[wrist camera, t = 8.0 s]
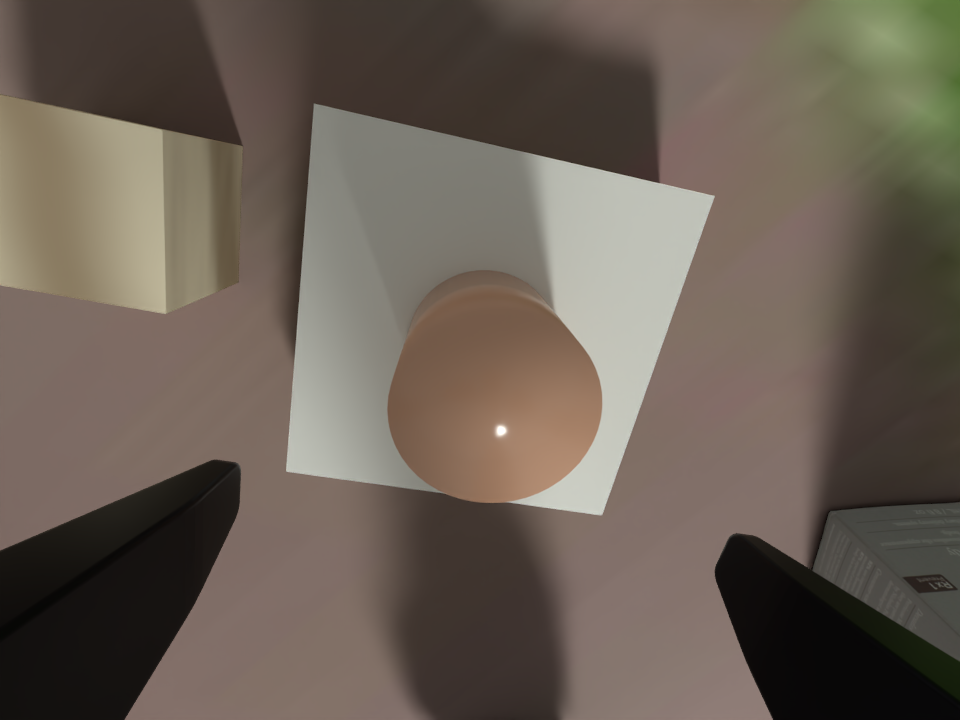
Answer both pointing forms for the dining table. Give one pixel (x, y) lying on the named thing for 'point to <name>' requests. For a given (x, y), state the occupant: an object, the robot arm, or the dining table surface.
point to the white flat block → (462, 248)
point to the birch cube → (115, 208)
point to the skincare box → (900, 565)
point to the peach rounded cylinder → (492, 391)
